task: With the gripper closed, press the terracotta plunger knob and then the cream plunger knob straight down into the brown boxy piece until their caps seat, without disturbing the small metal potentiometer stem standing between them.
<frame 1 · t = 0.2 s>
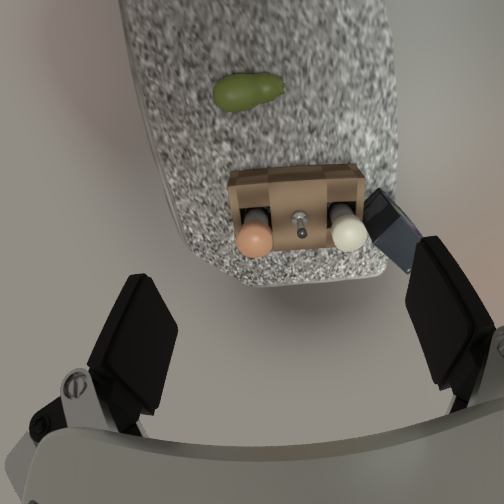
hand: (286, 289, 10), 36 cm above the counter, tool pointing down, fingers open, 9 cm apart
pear: (250, 89, 37), on the counter
brown boxy piece: (296, 199, 47), on the counter
knob terracotta: (255, 228, 41), point 8 cm above the counter, slide at 0.0 cm
small box: (384, 214, 48), on the counter
pot stem: (299, 217, 42), point 6 cm above the counter, touching brown boxy piece
knob cream: (344, 222, 40), point 8 cm above the counter, slide at 0.0 cm
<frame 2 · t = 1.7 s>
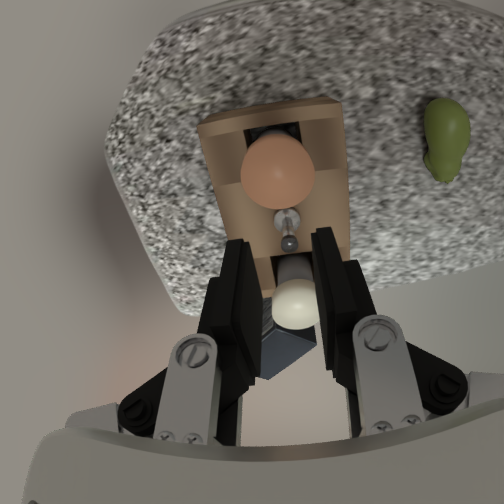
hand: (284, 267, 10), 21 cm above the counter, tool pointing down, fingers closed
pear: (435, 135, 26), on the counter
brown boxy piece: (283, 191, 31), on the counter
knob terracotta: (276, 159, 21), point 8 cm above the counter, slide at 0.0 cm
small box: (271, 298, 41), on the counter
pot stem: (286, 217, 26), point 6 cm above the counter, touching brown boxy piece
knob cream: (295, 285, 28), point 8 cm above the counter, slide at 0.0 cm
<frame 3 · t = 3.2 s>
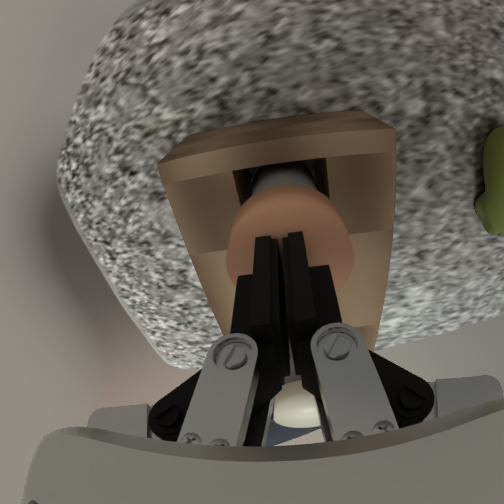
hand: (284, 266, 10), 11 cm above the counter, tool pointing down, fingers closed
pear: (490, 172, 18), on the counter
brown boxy piece: (293, 242, 23), on the counter
knob terracotta: (286, 216, 14), point 7 cm above the counter, slide at 1.1 cm, touching gripper
small box: (273, 356, 33), on the counter
knob cream: (306, 374, 20), point 8 cm above the counter, slide at 0.0 cm
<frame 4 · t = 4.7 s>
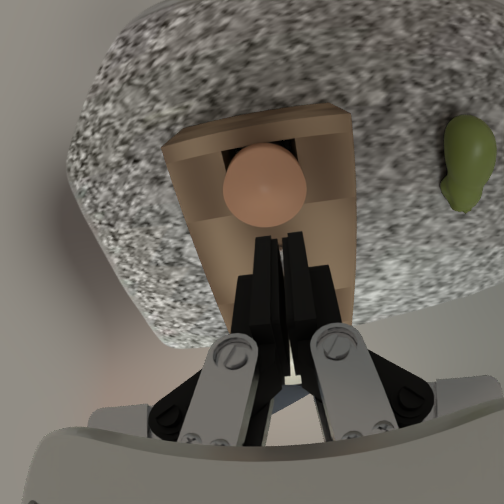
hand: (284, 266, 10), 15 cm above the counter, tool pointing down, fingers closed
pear: (453, 157, 22), on the counter
brown boxy piece: (275, 218, 26), on the counter
knob terracotta: (263, 169, 19), point 4 cm above the counter, slide at 3.8 cm
small box: (263, 331, 37), on the counter
knob cream: (290, 333, 23), point 8 cm above the counter, slide at 0.0 cm
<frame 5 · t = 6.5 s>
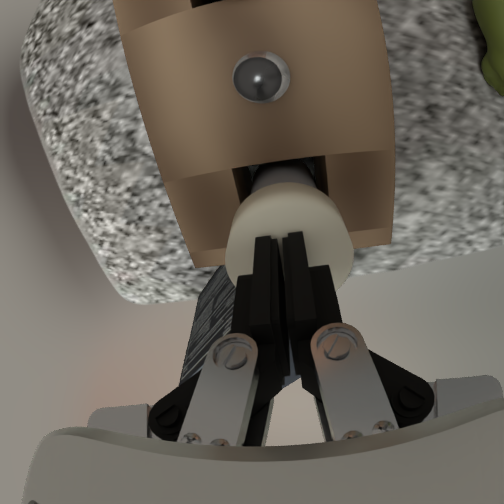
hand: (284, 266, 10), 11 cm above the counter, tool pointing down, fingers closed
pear: (489, 40, 11), on the counter
brown boxy piece: (264, 75, 16), on the counter
small box: (253, 276, 26), on the counter
pot stem: (261, 76, 11), point 6 cm above the counter, touching brown boxy piece
knob cream: (286, 214, 13), point 7 cm above the counter, slide at 1.0 cm, touching gripper
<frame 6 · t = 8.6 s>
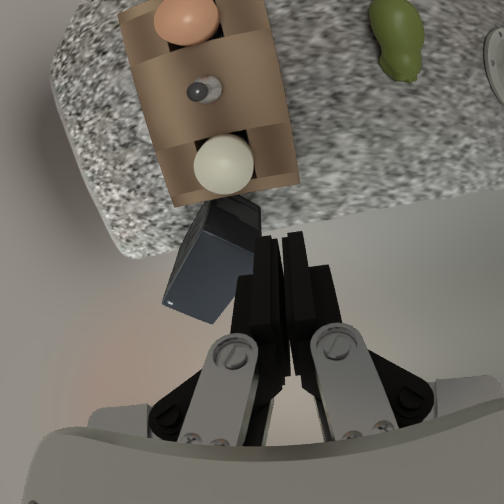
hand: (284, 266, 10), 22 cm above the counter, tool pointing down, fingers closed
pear: (389, 40, 21), on the counter
brown boxy piece: (217, 86, 25), on the counter
knob terracotta: (194, 24, 18), point 4 cm above the counter, slide at 3.8 cm
small box: (219, 227, 35), on the counter
pot stem: (207, 88, 20), point 6 cm above the counter, touching brown boxy piece
knob cream: (227, 154, 25), point 4 cm above the counter, slide at 3.8 cm
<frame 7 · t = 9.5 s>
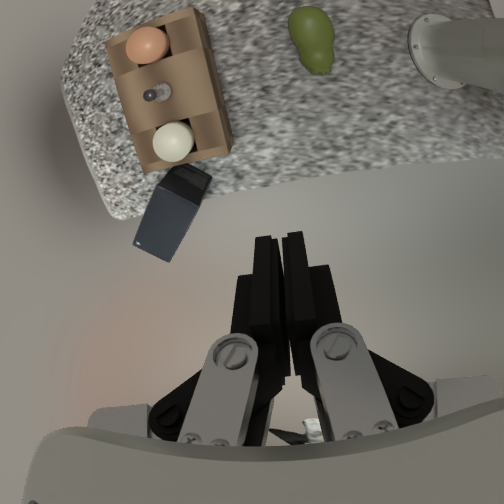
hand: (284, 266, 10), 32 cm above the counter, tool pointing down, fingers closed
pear: (311, 42, 29), on the counter
brown boxy piece: (177, 88, 34), on the counter
knob terracotta: (155, 46, 27), point 4 cm above the counter, slide at 3.8 cm
small box: (182, 193, 44), on the counter
pot stem: (163, 91, 29), point 6 cm above the counter, touching brown boxy piece
knob cream: (179, 136, 34), point 4 cm above the counter, slide at 3.8 cm
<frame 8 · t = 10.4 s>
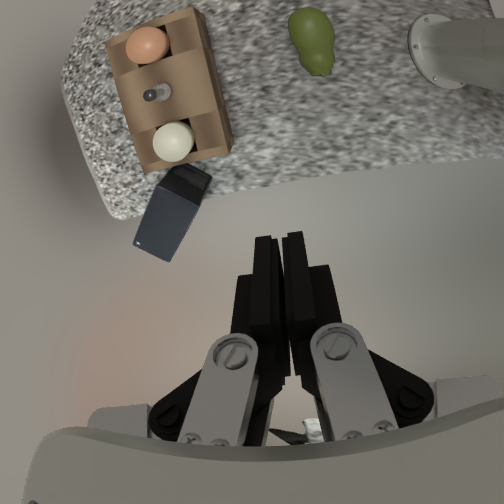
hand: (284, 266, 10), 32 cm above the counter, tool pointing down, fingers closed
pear: (311, 43, 30), on the counter
brown boxy piece: (177, 88, 34), on the counter
knob terracotta: (155, 46, 27), point 4 cm above the counter, slide at 3.8 cm
small box: (182, 193, 44), on the counter
pot stem: (163, 91, 29), point 6 cm above the counter, touching brown boxy piece
knob cream: (179, 136, 34), point 4 cm above the counter, slide at 3.8 cm
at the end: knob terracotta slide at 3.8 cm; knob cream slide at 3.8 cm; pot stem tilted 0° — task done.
